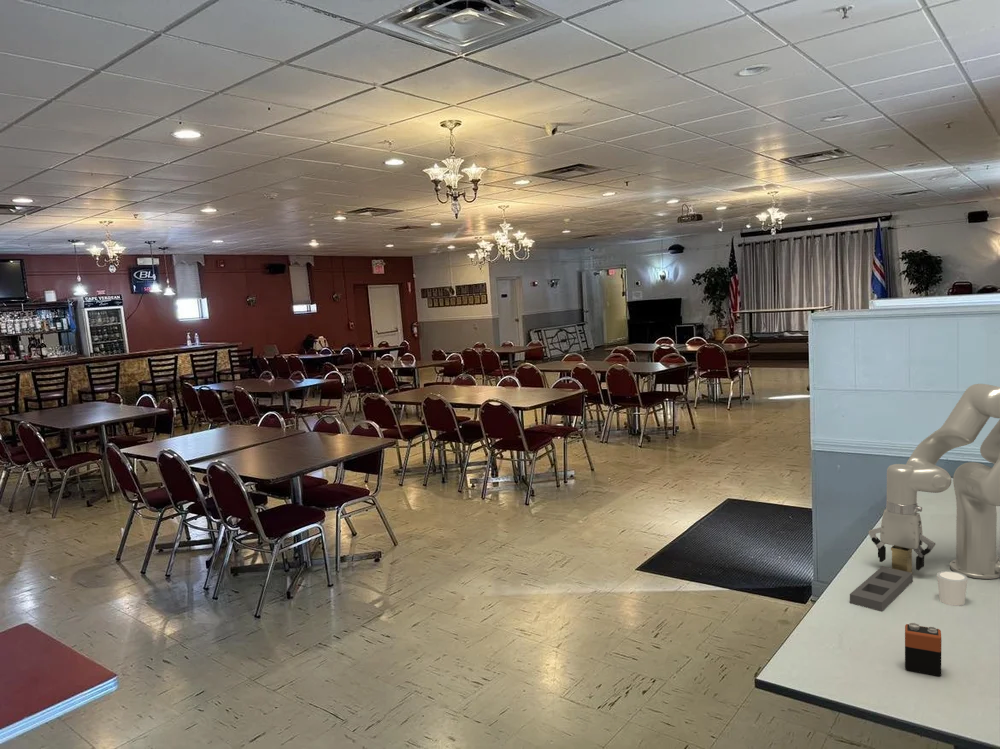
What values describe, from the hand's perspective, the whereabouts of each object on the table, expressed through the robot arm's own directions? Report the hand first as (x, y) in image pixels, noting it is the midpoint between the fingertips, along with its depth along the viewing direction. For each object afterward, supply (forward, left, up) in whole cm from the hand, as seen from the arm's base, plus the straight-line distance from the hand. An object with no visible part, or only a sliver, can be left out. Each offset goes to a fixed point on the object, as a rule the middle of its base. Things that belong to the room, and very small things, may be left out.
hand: (900, 564), depth 203 cm
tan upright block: (0, 0, -3) cm, 3 cm away
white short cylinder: (-16, +11, -3) cm, 19 cm away
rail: (0, +16, -3) cm, 16 cm away
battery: (-20, +51, -3) cm, 55 cm away
